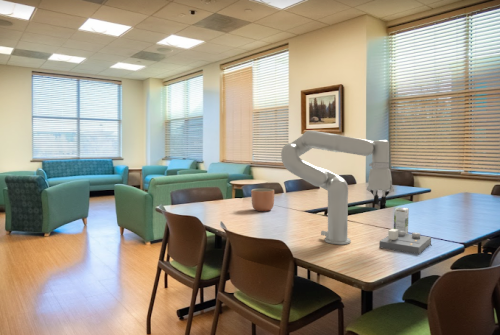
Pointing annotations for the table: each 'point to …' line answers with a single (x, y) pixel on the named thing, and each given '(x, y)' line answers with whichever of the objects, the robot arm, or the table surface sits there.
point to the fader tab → (393, 234)
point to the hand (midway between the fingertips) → (379, 204)
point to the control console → (406, 243)
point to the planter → (262, 199)
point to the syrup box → (401, 219)
